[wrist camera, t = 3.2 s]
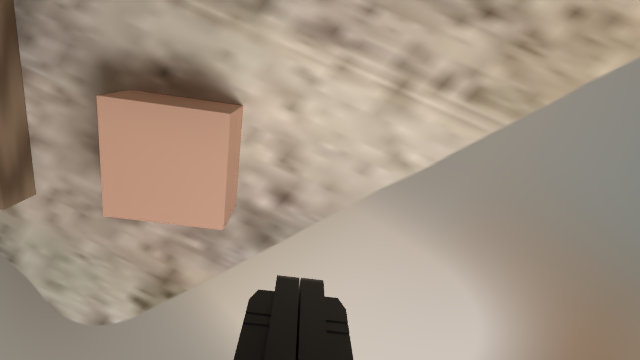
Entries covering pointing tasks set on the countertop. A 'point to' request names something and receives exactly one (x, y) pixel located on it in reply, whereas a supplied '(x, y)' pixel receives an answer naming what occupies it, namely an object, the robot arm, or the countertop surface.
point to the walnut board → (13, 117)
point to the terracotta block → (168, 158)
